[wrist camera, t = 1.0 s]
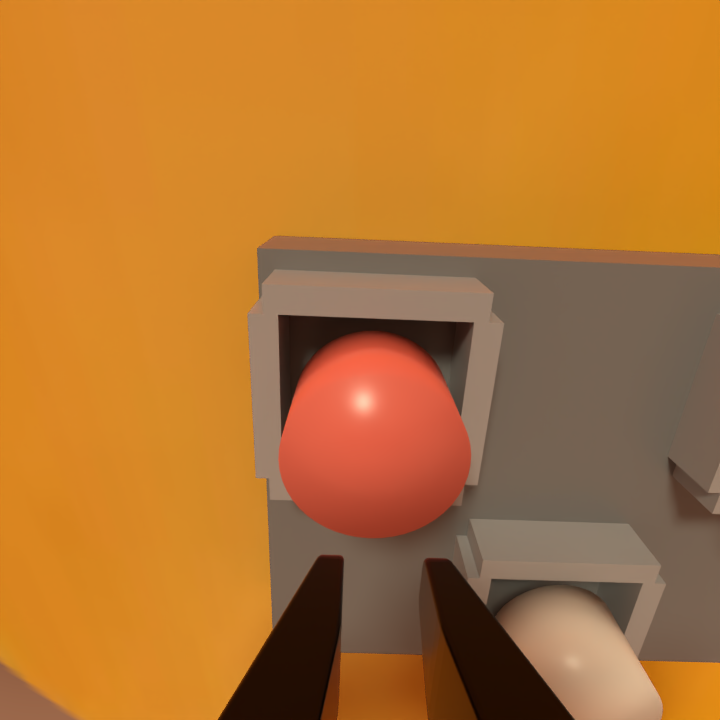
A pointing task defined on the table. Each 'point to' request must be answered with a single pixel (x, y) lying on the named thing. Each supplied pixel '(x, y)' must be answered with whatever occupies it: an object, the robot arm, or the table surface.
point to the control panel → (519, 428)
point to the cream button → (581, 653)
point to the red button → (373, 438)
